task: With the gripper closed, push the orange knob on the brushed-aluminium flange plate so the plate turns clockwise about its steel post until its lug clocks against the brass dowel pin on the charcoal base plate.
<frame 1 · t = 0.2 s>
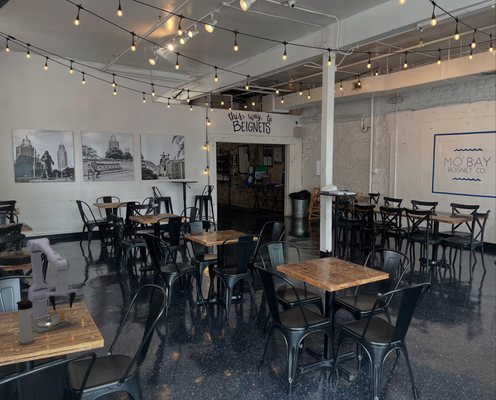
hand: (62, 308, 203), 10 cm above the table, tool pointing down, fingers open, 7 cm apart
base plate: (49, 325, 206), on the table
travel mug: (26, 342, 186), on the table
flange plate: (52, 317, 206), point 4 cm above the table, hinge at 0.0°
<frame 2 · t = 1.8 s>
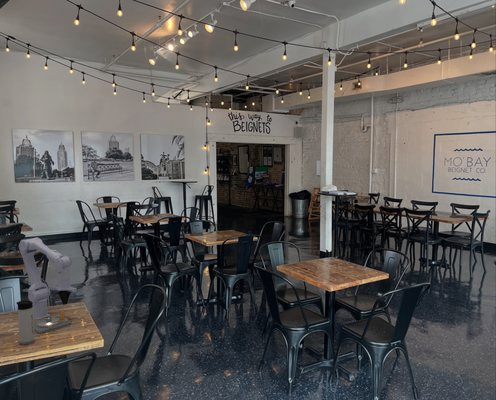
hand: (65, 304, 211), 9 cm above the table, tool pointing down, fingers closed
nothing on the table moved.
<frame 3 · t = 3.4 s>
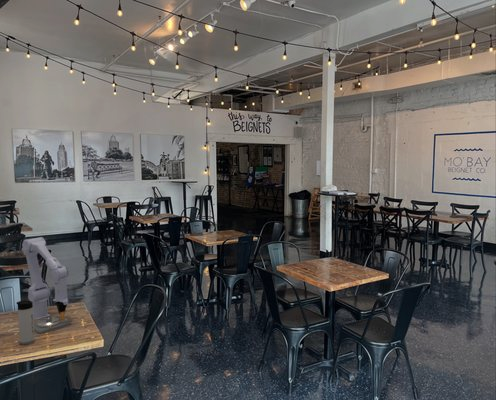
hand: (62, 314, 210), 4 cm above the table, tool pointing down, fingers closed
flange plate: (52, 317, 206), point 4 cm above the table, hinge at 0.0°, touching gripper
everything else where it was.
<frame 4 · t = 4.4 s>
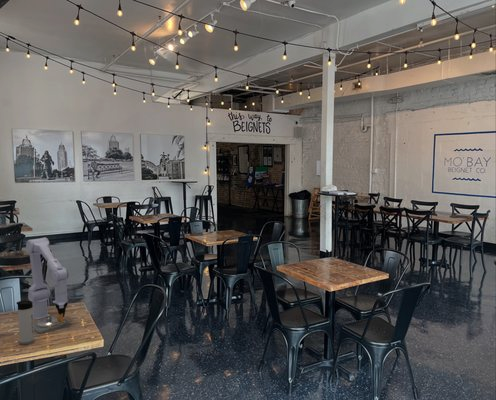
hand: (62, 317, 207), 4 cm above the table, tool pointing down, fingers closed, pressing on flange plate
flange plate: (51, 318, 205), point 4 cm above the table, hinge at -28.1°, touching gripper
everything else where it was.
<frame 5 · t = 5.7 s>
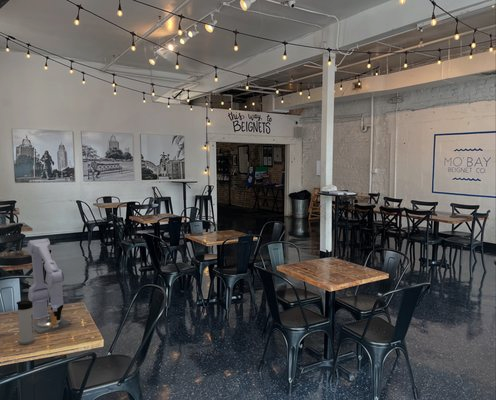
hand: (57, 320, 203), 4 cm above the table, tool pointing down, fingers closed, pressing on flange plate
flange plate: (50, 318, 205), point 4 cm above the table, hinge at -62.4°, touching base plate, gripper
everything else where it was.
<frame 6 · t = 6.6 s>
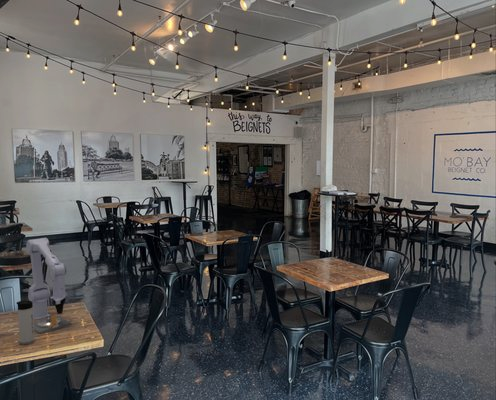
hand: (60, 313, 203), 7 cm above the table, tool pointing down, fingers closed
flange plate: (50, 318, 205), point 4 cm above the table, hinge at -62.3°, touching base plate
everything else where it was.
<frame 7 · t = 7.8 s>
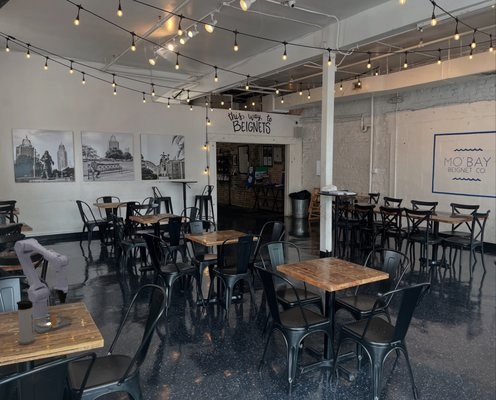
hand: (62, 302, 213), 9 cm above the table, tool pointing down, fingers closed
nothing on the table moved.
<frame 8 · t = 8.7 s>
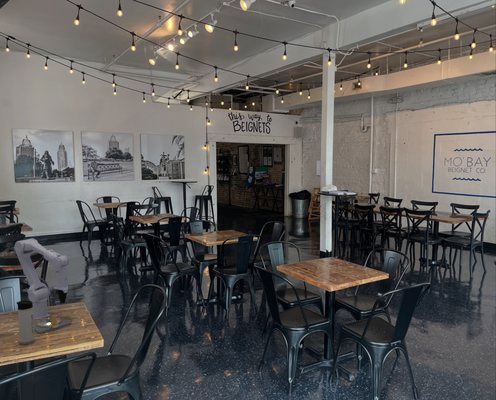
hand: (62, 302, 213), 9 cm above the table, tool pointing down, fingers closed
nothing on the table moved.
at the end: flange plate at -62° (first picture: +0°); travel mug moved 0.2 cm from its start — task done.
